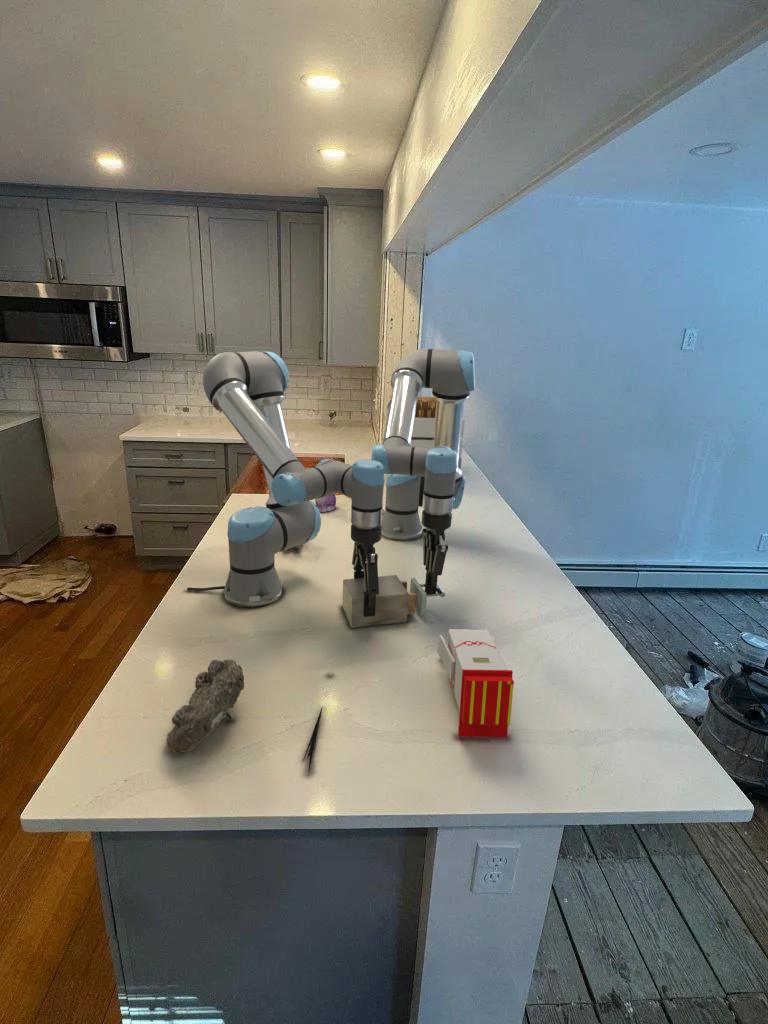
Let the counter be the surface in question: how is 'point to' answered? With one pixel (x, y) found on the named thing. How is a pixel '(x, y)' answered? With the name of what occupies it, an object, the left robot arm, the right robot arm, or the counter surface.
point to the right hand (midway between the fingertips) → (430, 594)
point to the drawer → (419, 596)
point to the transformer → (426, 425)
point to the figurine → (326, 503)
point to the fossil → (206, 705)
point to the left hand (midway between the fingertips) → (363, 604)
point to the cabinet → (387, 606)
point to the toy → (478, 682)
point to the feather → (313, 740)
